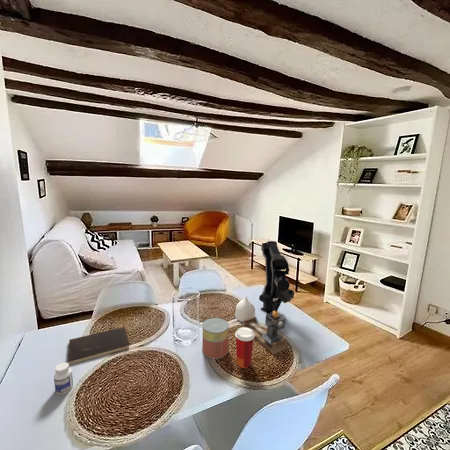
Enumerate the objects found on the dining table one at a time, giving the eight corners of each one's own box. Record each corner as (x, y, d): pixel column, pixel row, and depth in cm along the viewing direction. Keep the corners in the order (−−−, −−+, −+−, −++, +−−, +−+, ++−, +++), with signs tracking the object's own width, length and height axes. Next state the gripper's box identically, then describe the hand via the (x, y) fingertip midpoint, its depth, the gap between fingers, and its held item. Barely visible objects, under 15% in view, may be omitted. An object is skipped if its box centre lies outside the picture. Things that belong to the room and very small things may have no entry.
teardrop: (242, 324, 132) (243, 302, 130) (231, 314, 141) (232, 294, 139) (259, 319, 137) (260, 298, 135) (247, 309, 147) (248, 290, 145)
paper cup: (253, 357, 107) (254, 327, 105) (253, 371, 100) (255, 338, 97) (234, 356, 108) (235, 325, 105) (233, 369, 100) (234, 337, 98)
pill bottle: (60, 383, 91) (58, 361, 90) (75, 382, 92) (74, 360, 90) (52, 395, 86) (49, 372, 85) (68, 394, 87) (66, 371, 85)
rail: (243, 328, 128) (244, 320, 127) (254, 324, 132) (255, 316, 131) (273, 354, 110) (274, 344, 109) (285, 349, 113) (286, 339, 112)
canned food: (210, 339, 119) (210, 315, 117) (232, 346, 114) (232, 322, 112) (197, 353, 109) (197, 327, 107) (220, 362, 104) (221, 335, 102)
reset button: (271, 319, 131) (271, 311, 130) (275, 317, 133) (275, 310, 132) (275, 321, 128) (275, 314, 128) (279, 320, 130) (280, 312, 129)
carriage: (261, 339, 116) (262, 325, 115) (272, 335, 120) (273, 321, 118) (270, 347, 111) (271, 332, 110) (281, 342, 115) (282, 328, 113)
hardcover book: (129, 349, 111) (129, 344, 110) (67, 366, 100) (67, 361, 100) (124, 330, 125) (124, 326, 124) (70, 343, 114) (69, 338, 113)
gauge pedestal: (265, 324, 132) (265, 315, 131) (275, 320, 136) (275, 312, 135) (274, 331, 126) (275, 322, 125) (285, 327, 130) (285, 318, 129)
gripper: (274, 292, 115) (272, 324, 118) (303, 284, 125) (300, 313, 128) (259, 283, 125) (257, 313, 127) (286, 277, 134) (284, 304, 137)
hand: (275, 311), depth 130 cm, fingers closed
